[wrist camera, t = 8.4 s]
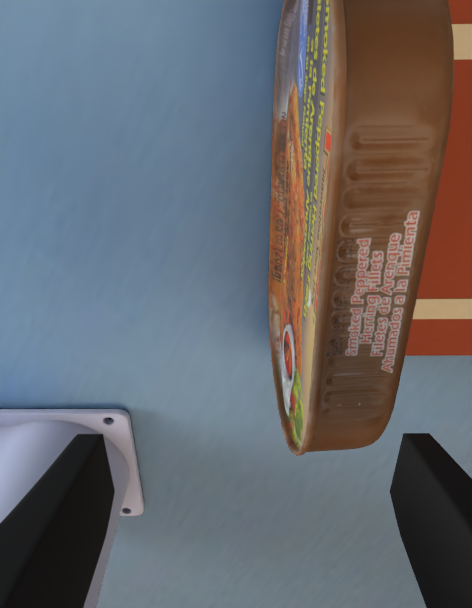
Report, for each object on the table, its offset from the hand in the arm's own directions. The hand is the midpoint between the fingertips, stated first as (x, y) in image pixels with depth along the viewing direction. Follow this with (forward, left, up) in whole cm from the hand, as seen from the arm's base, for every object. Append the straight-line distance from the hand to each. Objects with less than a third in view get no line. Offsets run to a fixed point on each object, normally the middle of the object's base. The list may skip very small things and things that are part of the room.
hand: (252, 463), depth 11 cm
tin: (+2, +4, -10) cm, 11 cm away
